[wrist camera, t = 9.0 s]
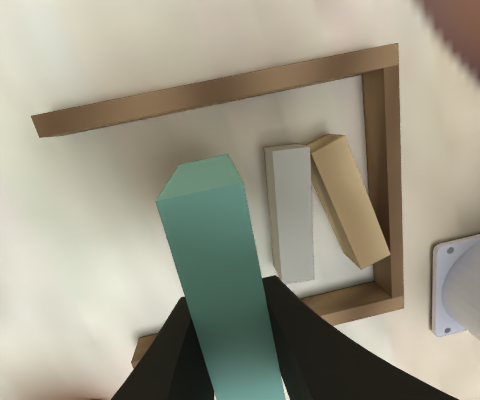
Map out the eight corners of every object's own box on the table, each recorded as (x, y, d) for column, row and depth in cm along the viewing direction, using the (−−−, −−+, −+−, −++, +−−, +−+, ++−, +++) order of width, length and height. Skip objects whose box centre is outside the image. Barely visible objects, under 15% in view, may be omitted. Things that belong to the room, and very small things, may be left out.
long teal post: (228, 154, 11) (243, 181, 6) (267, 344, 14) (297, 461, 9) (179, 164, 11) (155, 200, 6) (229, 353, 14) (240, 476, 9)
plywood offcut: (325, 133, 16) (345, 135, 14) (367, 238, 19) (390, 254, 16) (296, 149, 17) (311, 153, 14) (342, 251, 19) (361, 269, 16)
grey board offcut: (295, 143, 16) (309, 146, 14) (300, 259, 19) (314, 279, 16) (263, 147, 16) (272, 151, 14) (272, 263, 19) (282, 284, 16)
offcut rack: (374, 52, 15) (398, 42, 13) (385, 290, 20) (404, 308, 18) (54, 116, 14) (30, 116, 12) (143, 349, 19) (135, 374, 17)
